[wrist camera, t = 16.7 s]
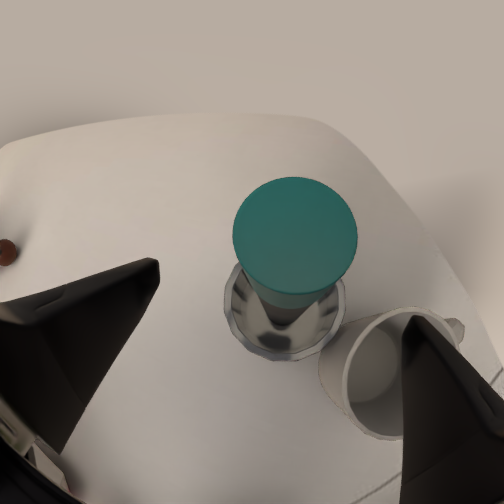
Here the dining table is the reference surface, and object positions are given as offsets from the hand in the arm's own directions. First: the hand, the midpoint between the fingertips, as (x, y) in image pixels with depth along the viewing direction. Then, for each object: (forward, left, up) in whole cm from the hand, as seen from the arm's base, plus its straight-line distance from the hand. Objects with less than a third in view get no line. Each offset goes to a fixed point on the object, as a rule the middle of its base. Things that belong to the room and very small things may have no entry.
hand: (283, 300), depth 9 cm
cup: (0, -8, -14) cm, 16 cm away
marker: (+1, 0, -13) cm, 13 cm away
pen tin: (+1, 0, -13) cm, 13 cm away
